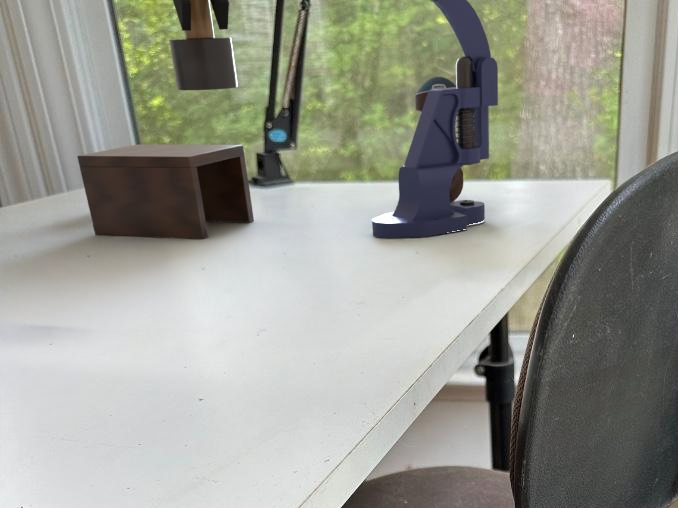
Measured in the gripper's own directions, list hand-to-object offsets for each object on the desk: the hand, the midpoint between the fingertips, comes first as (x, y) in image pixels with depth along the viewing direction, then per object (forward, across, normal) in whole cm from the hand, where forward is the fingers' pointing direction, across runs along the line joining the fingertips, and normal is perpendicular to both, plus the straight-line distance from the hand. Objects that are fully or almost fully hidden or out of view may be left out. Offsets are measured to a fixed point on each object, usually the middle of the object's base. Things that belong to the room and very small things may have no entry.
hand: (205, 16), depth 79 cm
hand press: (+7, +26, +25) cm, 36 cm away
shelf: (-7, -1, +38) cm, 39 cm away
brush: (+1, 0, +7) cm, 7 cm away
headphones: (-5, +35, +36) cm, 51 cm away
